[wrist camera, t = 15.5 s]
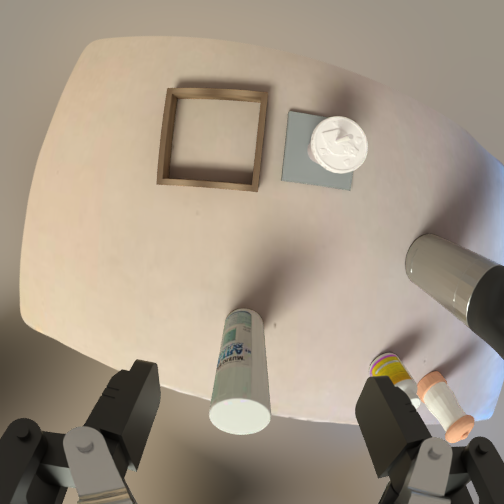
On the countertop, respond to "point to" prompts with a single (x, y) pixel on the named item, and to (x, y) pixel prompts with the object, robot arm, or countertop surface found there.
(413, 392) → the supplement bottle
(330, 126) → the smoothie
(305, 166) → the mat
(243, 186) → the frame
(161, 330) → the countertop surface
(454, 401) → the salt shaker
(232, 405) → the spray can
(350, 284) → the countertop surface
